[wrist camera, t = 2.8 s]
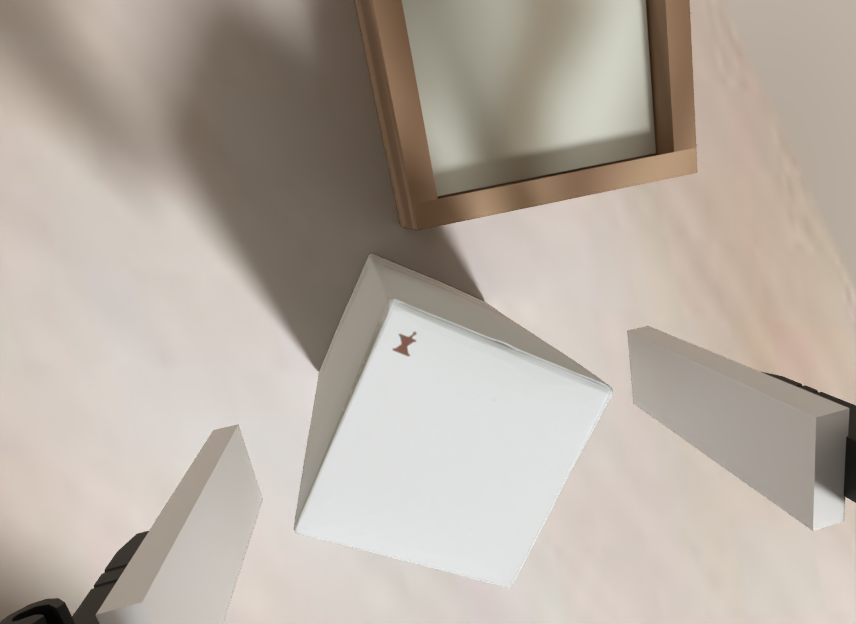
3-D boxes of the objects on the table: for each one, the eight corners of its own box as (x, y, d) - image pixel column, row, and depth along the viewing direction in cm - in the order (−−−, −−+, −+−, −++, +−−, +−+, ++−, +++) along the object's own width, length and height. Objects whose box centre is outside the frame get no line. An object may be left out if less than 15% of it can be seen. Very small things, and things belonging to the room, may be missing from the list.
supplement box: (314, 375, 24) (278, 536, 12) (369, 249, 24) (389, 287, 11) (436, 420, 26) (512, 599, 14) (492, 303, 25) (624, 387, 13)
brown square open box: (400, 226, 24) (417, 230, 18) (346, -38, 21) (345, -140, 15) (614, 182, 25) (697, 172, 19) (591, -71, 22) (681, -176, 16)
